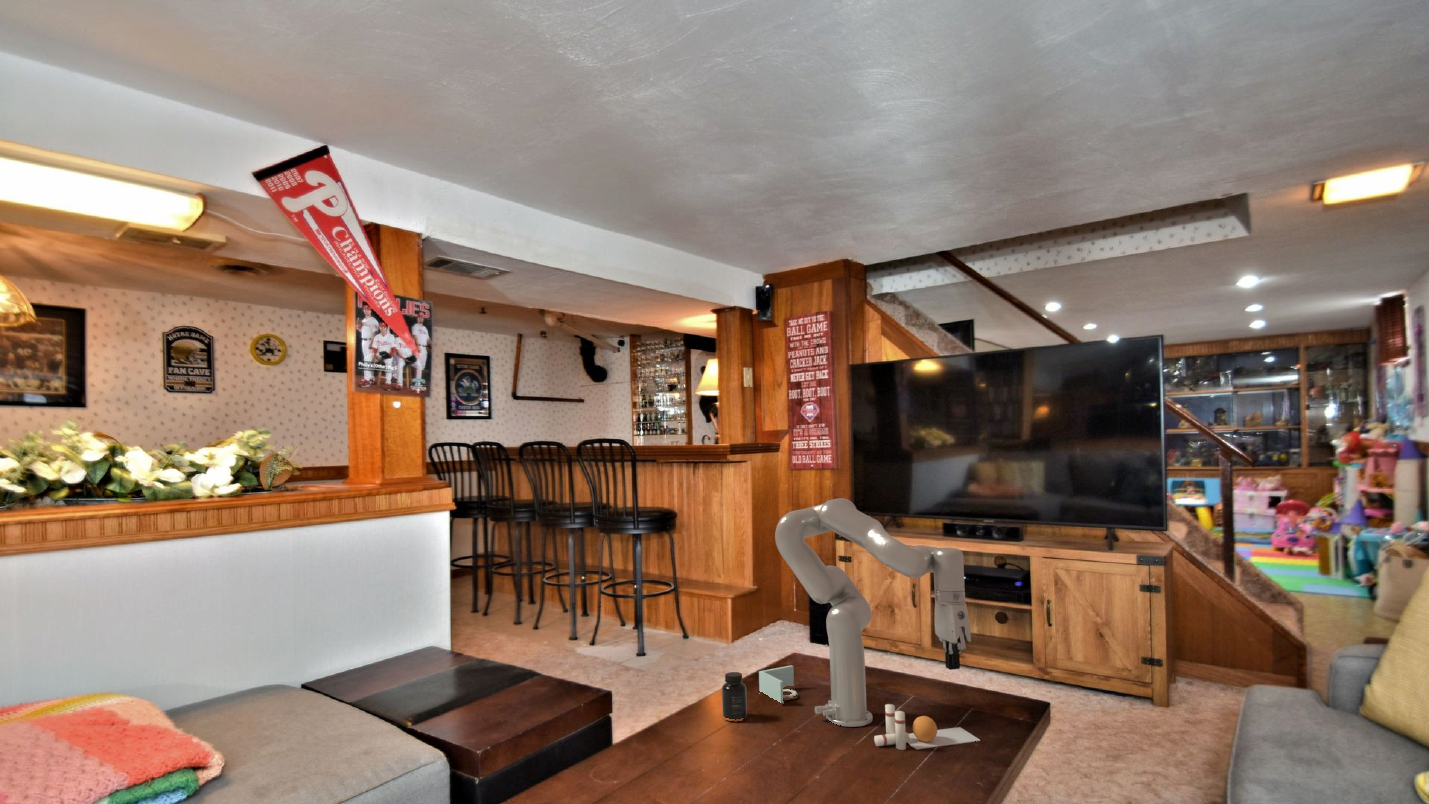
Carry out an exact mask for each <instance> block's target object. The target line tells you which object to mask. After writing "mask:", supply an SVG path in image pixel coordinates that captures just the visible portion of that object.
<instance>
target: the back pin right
mask: <svg viewBox="0 0 1429 804" xmlns="http://www.w3.org/2000/svg"><path fill="white" fill-rule="evenodd" d="M905 713H906V712H905V711H903V710H895V731H896V744H895V748H896V749H897V750H901V751H904V750H906V749H907V743H906V732H907V731H906V714H905Z"/></svg>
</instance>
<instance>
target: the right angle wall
mask: <svg viewBox="0 0 1429 804" xmlns="http://www.w3.org/2000/svg"><path fill="white" fill-rule="evenodd" d="M794 675H795V674H794V665H791V664H790V665H786V666H781V667H776V668H770V669H766V670H765V669H764V670H759V671H758V684H759V686H758V687H759V688H758V689H759V691H760V692H763V693H764V694H766V695H768V696H769V697H770V698H773V699H774V700H777V701H778V702H780V703H783V704H784V701H783V698H793V696H796V695H797V696H798V692H797V691H796V690H794V689H791V690H790V689H783V688H784V687H786V686H794V687H795V679H794V678H795V676H794ZM783 692H791V693H792V694H790V695H783Z"/></svg>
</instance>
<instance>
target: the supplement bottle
mask: <svg viewBox="0 0 1429 804" xmlns="http://www.w3.org/2000/svg"><path fill="white" fill-rule="evenodd" d="M724 682H725V683H723V685H722V687H721V699H722V700H721V703H722V704H721V705H722V717H723V716H724V717H725V718H729V719H735V720H736V719H741V718H745V717H746V716H747V717H748V705H747V704H748V703H747V686H746V684H745V683H743V673H741V672H737V671H731V672H727V673H725V675H724Z"/></svg>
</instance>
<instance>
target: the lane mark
mask: <svg viewBox="0 0 1429 804" xmlns="http://www.w3.org/2000/svg"><path fill="white" fill-rule="evenodd" d="M908 735H909V738H910V741H909V743H907V744H909V746H910V747H912V748H914V749H915V750H922V749H930V748H938V747H945V746H953V745H960V744H967V743H975V741H976V742H981V739H979V738H978V737H977V736H975V735H973V734H972V733H970V732H968V731H967V730H965V729H964V728H962V727H961V726H958V727H951V728H950V727H949V728H943V729H937V735H936V737H935V738H934V739H933V740H932V741H930V742H923V741H921V740H919V739H918V738H917V737H916V736H915V735H914V732H912V733H908Z"/></svg>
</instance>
